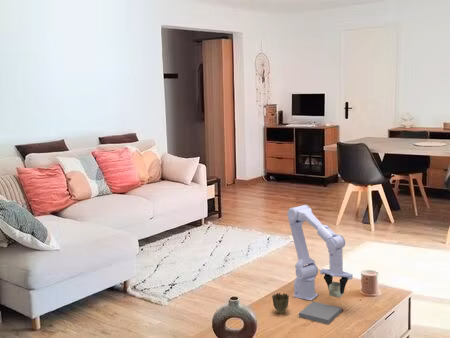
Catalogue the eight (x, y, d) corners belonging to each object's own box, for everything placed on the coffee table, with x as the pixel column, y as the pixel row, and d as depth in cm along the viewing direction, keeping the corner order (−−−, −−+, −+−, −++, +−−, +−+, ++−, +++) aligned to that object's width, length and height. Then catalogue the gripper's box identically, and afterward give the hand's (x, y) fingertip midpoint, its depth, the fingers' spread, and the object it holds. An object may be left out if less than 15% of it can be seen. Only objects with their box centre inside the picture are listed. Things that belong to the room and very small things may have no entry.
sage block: (329, 295, 233) (328, 285, 232) (333, 291, 237) (333, 281, 236) (339, 297, 230) (339, 287, 229) (344, 293, 234) (343, 283, 233)
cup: (290, 310, 236) (290, 293, 235) (287, 317, 229) (286, 299, 228) (274, 308, 239) (274, 292, 237) (271, 315, 232) (270, 298, 230)
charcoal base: (298, 317, 229) (298, 312, 228) (313, 305, 240) (313, 301, 239) (328, 324, 220) (328, 319, 220) (341, 312, 232) (341, 307, 231)
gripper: (317, 262, 232) (317, 291, 234) (348, 268, 224) (348, 298, 226) (323, 258, 238) (324, 286, 240) (354, 263, 229) (354, 292, 232)
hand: (336, 291), depth 233 cm, fingers closed on sage block, 5 cm apart
